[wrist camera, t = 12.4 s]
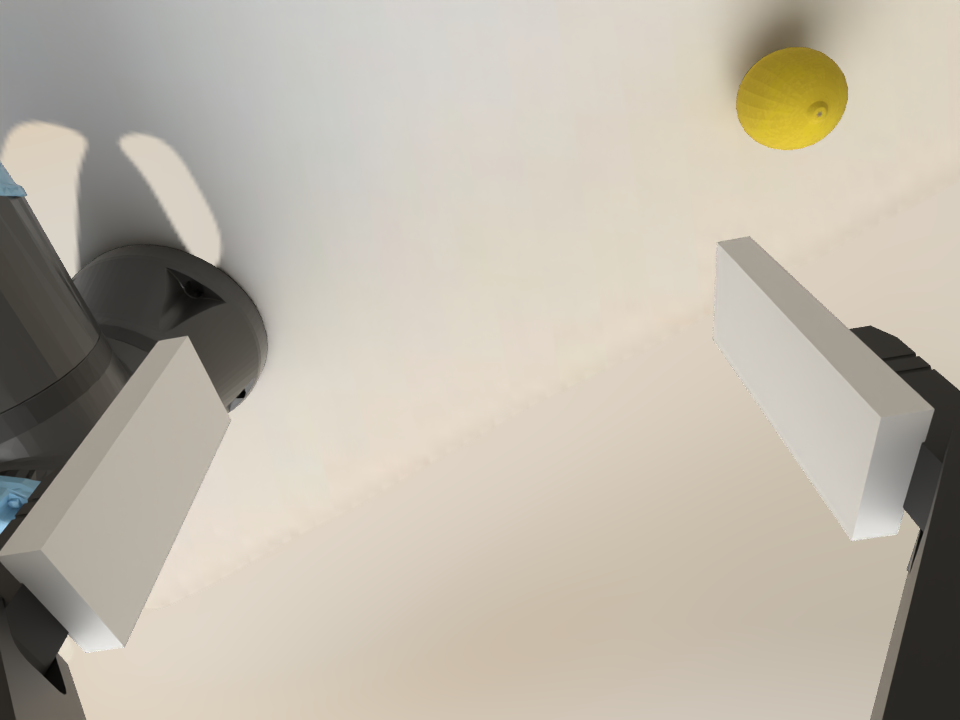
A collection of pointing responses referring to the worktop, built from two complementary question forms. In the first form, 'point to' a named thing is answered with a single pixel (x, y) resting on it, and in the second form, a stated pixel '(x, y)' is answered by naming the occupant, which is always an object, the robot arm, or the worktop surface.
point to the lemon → (792, 98)
